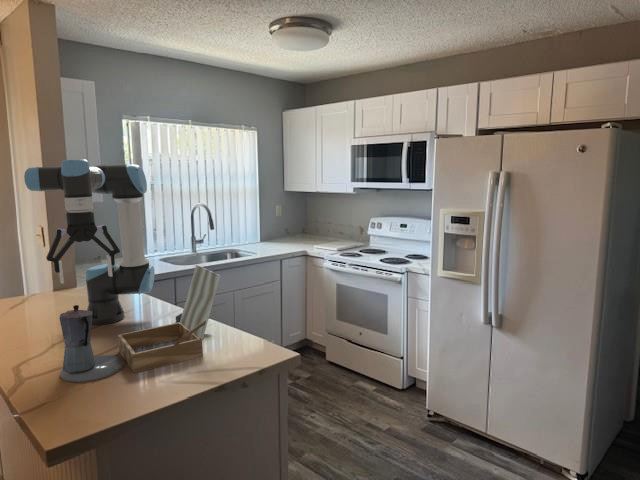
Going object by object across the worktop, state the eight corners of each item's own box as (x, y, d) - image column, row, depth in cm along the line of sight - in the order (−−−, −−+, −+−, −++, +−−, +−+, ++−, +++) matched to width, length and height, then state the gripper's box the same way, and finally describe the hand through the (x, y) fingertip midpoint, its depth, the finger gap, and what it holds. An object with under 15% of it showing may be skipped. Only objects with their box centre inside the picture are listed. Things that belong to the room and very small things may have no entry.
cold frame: (119, 351, 161) (112, 276, 157) (201, 332, 178) (197, 264, 174) (134, 373, 143) (127, 289, 139) (224, 350, 160) (220, 274, 156)
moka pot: (84, 356, 153) (82, 298, 150) (107, 370, 144) (105, 308, 141) (53, 365, 146) (50, 304, 143) (76, 380, 136) (73, 315, 133)
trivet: (57, 367, 149) (57, 364, 149) (117, 353, 159) (117, 351, 159) (64, 388, 134) (63, 384, 134) (129, 371, 144) (129, 368, 144)
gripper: (32, 215, 131) (41, 288, 134) (126, 209, 145) (131, 275, 148) (31, 213, 137) (39, 283, 140) (120, 207, 151) (126, 271, 154)
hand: (86, 279), depth 144 cm, fingers open, 13 cm apart
